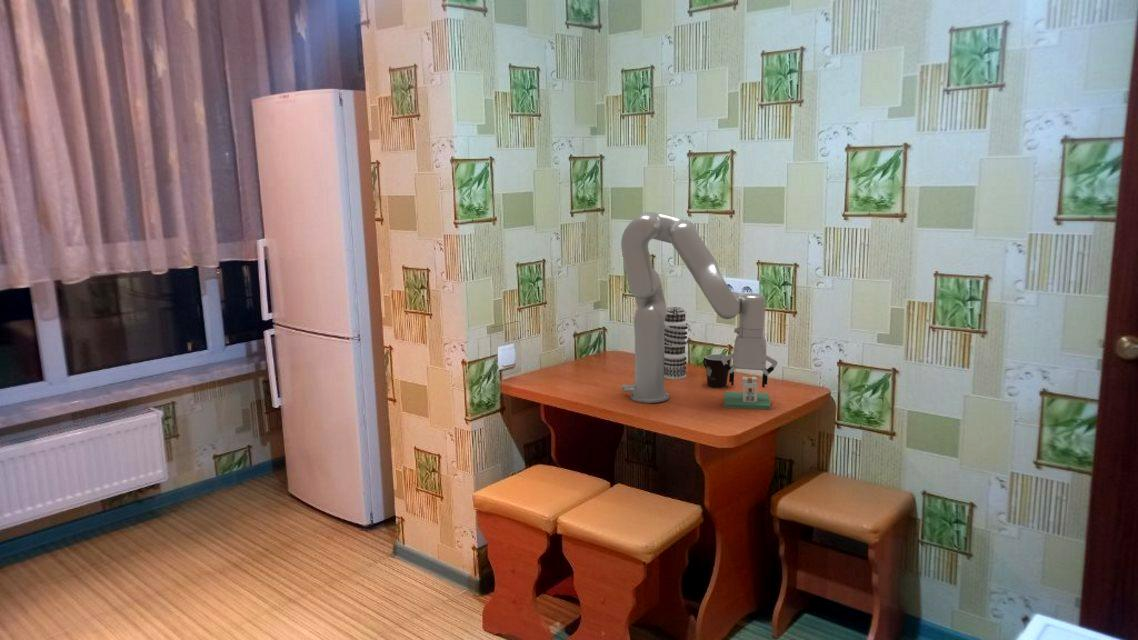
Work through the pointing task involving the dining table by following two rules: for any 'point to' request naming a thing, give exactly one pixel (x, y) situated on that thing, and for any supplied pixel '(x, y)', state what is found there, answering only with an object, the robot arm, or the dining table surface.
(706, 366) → the coffee mug
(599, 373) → the dining table surface
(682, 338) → the decorative candle
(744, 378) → the white box
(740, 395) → the board
